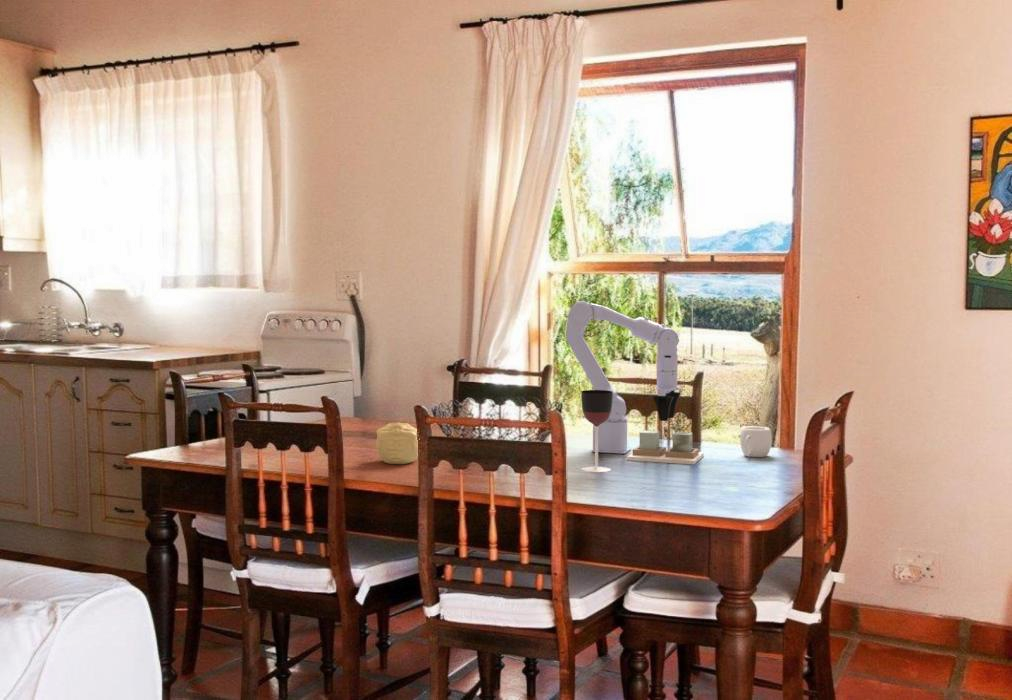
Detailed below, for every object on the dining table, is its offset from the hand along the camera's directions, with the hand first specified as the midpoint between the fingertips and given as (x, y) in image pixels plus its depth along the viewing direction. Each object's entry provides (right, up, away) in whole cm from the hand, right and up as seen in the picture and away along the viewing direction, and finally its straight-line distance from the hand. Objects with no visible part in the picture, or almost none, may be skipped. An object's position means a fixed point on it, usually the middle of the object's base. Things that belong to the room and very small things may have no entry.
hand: (666, 419), depth 293 cm
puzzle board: (-2, -10, -9) cm, 14 cm away
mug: (+23, -10, -7) cm, 26 cm away
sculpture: (-74, -11, -16) cm, 76 cm away
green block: (+3, -9, -11) cm, 15 cm away
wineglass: (-22, -11, -26) cm, 36 cm away
